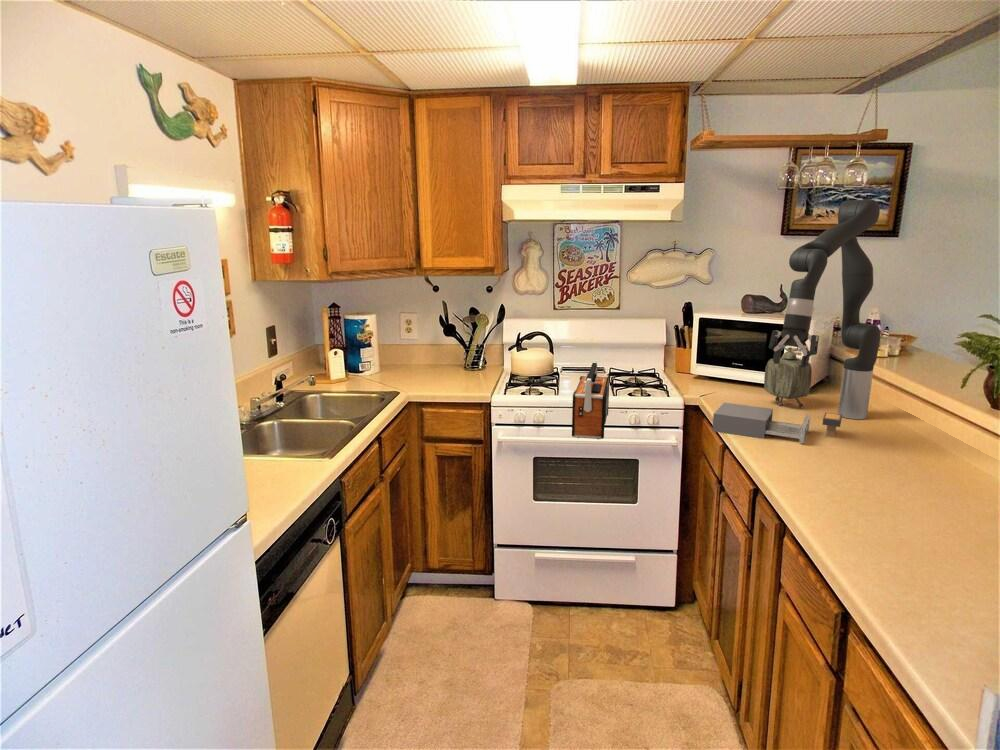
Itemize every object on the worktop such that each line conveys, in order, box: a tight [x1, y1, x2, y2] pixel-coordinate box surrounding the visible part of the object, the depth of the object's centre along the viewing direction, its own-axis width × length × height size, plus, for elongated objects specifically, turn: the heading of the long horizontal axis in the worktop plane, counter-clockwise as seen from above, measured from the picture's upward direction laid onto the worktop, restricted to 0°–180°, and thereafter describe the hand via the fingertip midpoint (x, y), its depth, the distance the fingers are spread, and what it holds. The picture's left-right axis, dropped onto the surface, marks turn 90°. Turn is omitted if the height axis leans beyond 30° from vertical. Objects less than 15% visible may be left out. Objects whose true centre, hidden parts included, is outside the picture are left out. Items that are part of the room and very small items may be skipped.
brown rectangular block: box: [825, 425, 837, 438], centre depth 209 cm, size 6×2×4 cm, turn 149°
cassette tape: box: [822, 412, 843, 428], centre depth 208 cm, size 8×5×2 cm, turn 149°
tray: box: [765, 414, 811, 444], centre depth 209 cm, size 16×16×5 cm
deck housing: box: [711, 402, 774, 440], centre depth 215 cm, size 16×16×6 cm
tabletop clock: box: [763, 346, 813, 409], centre depth 241 cm, size 14×9×25 cm, turn 26°
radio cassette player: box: [571, 361, 610, 440], centre depth 214 cm, size 29×10×20 cm, turn 168°
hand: (789, 365), depth 201 cm, fingers open, 8 cm apart
